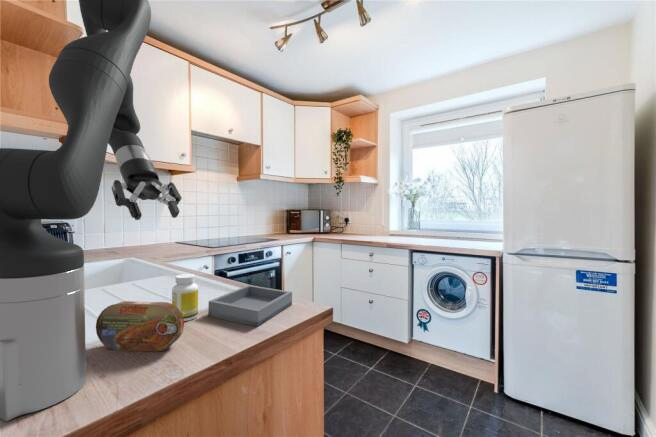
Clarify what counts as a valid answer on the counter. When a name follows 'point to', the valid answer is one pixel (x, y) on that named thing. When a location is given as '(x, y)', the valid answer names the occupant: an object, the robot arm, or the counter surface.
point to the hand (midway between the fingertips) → (158, 216)
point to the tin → (139, 326)
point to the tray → (250, 305)
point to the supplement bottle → (186, 296)
